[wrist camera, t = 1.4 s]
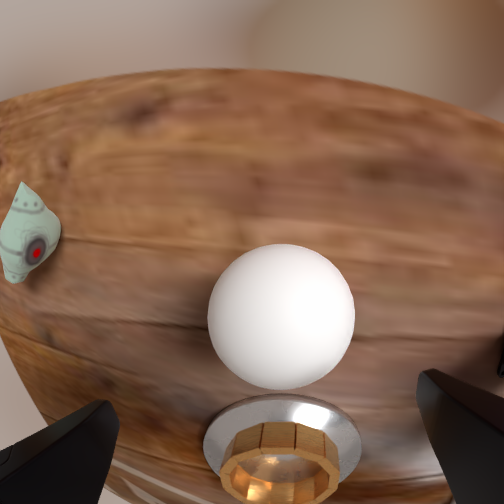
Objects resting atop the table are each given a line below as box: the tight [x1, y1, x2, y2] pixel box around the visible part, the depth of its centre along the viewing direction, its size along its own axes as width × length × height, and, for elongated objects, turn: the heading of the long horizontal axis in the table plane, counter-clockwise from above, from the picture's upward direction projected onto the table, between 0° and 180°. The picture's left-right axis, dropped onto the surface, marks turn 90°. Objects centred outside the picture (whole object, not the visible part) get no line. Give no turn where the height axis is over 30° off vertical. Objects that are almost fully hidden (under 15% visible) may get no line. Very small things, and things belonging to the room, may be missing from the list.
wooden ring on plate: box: [203, 394, 362, 504], centre depth 22 cm, size 14×14×4 cm
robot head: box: [0, 181, 61, 284], centre depth 19 cm, size 8×4×7 cm, turn 155°
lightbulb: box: [207, 244, 355, 390], centre depth 15 cm, size 6×6×11 cm
